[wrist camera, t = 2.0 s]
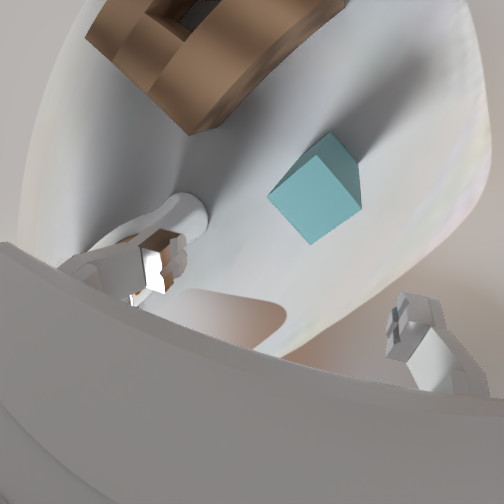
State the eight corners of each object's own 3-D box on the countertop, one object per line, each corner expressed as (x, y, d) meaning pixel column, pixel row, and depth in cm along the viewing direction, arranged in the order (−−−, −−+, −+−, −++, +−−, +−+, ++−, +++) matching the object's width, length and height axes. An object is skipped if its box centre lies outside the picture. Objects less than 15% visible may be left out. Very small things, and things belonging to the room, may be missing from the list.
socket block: (218, 126, 28) (188, 135, 23) (120, 39, 25) (84, 37, 20) (345, 7, 18) (342, -15, 13) (214, -71, 15) (188, -92, 10)
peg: (327, 187, 28) (310, 245, 18) (300, 157, 27) (266, 197, 17) (357, 163, 25) (361, 209, 16) (330, 131, 25) (316, 154, 15)
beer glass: (220, 236, 35) (148, 319, 23) (175, 243, 38) (101, 316, 25) (200, 182, 32) (108, 246, 20) (155, 195, 35) (66, 255, 23)
